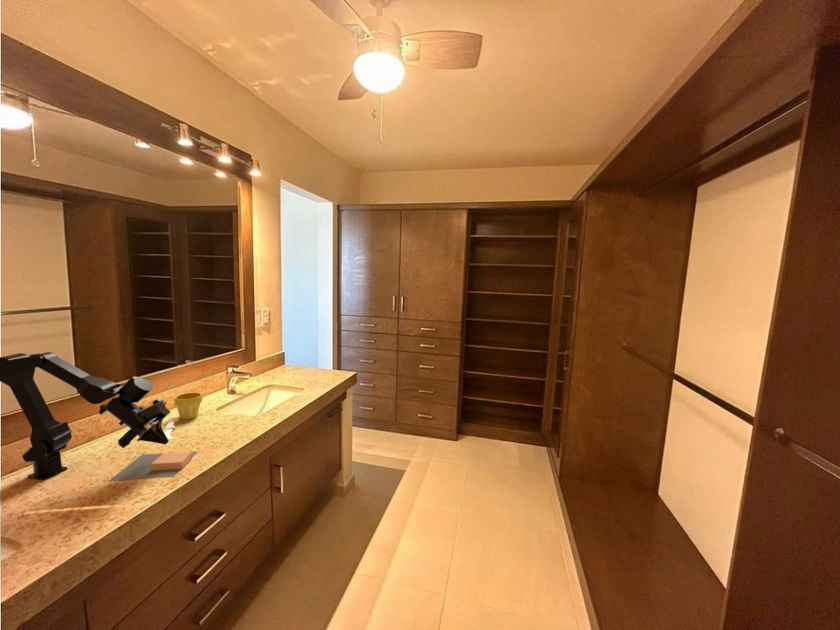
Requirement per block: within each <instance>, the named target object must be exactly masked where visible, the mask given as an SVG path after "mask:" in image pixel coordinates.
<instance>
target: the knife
mask: <svg viewBox="0 0 840 630" xmlns="http://www.w3.org/2000/svg"><path fill="white" fill-rule="evenodd" d="M179 420H180V418H179V417H172V418H171V419H170V420H169V421H168V423H167V424H166V426H165V427H164V429H163V432H164V433H165V435H166V437H167V439H168V440H169V439H173V437H172V436H171V433H172V432H174V430H176V429H177V427H176V426H175V423H177V422H179ZM173 429H174V430H173Z"/></svg>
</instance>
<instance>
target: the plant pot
mask: <svg viewBox="0 0 840 630" xmlns="http://www.w3.org/2000/svg"><path fill="white" fill-rule="evenodd" d="M202 401H203V394H202V393H201V392H197V391H196V392H194V391H193V392H191V391H190V392H183V393H180V394H178V395H176V396H174V405H175V406H176V409H177V412H178V416H179V419H181V420H191V419H194V418H196V417H198V415H199V410H200V405H201V403H202Z"/></svg>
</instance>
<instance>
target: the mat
mask: <svg viewBox="0 0 840 630" xmlns="http://www.w3.org/2000/svg"><path fill="white" fill-rule="evenodd" d="M192 452H193V457H195V456H196V454H197V453H198V452H199V451H198V450H197V451H192ZM163 453H164V452H161V453H148V454H147V453H146V454H141V455H139V456H138V457H137V458H136V459H134V460H133V461H132V462H131V463H129V464H128V465H127V466H125V467H124V468H123V469H121V471H119V472H118V473H117V474H115V476H113V477H112V478H110V479H109V480H108V481H109V482H115V481H129V480H132V481H133V480H145V479H146V480H147V479H159V478H162V479H164V478H174V477H175V476H176V475H177V474H179V472H180V471H181V470H182V469H166V470H151V464H152V463H153V462H154V461H155V460H156V459H157V458H159V457H160V456H161V455H162V454H163Z"/></svg>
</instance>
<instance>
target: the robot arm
mask: <svg viewBox="0 0 840 630" xmlns="http://www.w3.org/2000/svg"><path fill="white" fill-rule="evenodd" d="M36 368H39V369H40V370H42V371H44V372H46V373H48V374H49V375H51V376H53V377H55V378H57V379H59V380H60V381H62V382H64V383H66V384H67V385H69V386H71V387H72V388H74V389H76V391H77V392H78V395H79V396H80V397H81V398H82V399H84V400H85V401H86V402H87V403H89V404H92V405H97V404H98V405H99V404H100V405H99V413H98V414H99V415H103V414H105V413H107V412H109V413H110V414H111V415H112V416H113V417H115V418H116V419H118V420H119V423H118V425H120V426H123V425H125V426H127V427H128V428H129V430H127V431H126V433H124V434H123V435H122V436H121V437H120V438H119V439H118V440H117V444H118V446H119V447H121V448H123V449H124V448H126V447H127V446H129V445H130V444H131V442H132V441H133V440H134V439H135V438H136V437H139V438H137V439H136V442H139V441H142V442H150V443H156V444H161V445H167V444H168V443H169V442H170V441H169V439H167V437H166V435H165V433H164V432H163V431H164V429H163V428H162V422H163V420H164V419H165V418H166V417H167V416H168V415H169V414H171V411H170V410H169V409H168V408H167V407H166V404H167V401H165V400H164V399H162V398H161V397H158V398H156V399H155V400H153V401H152V404H151V405H149V406H147V407H146V406H145V405H140V406H138V405H137V404H136V403H139V402H140V401H142V400H143V399H144V398H145V397H146V396H147V395H148V394H149V393H150V392H151V391H152V390H153V388H154V386H153V384H152V382H151V381H150V380H148V379H145V378H142V377H138V376H136V375H134V376H132V377H130V378H129V379H128V380H127V382H126V383H124V384H122V383H120V384H119V383H116V382H114V381H112V380H110V379H106V378H103V377H98V376H93V375H92V374H89V373H87V372H86V371H83V370H82V369H80V368H78V367H77V366H75V365H73V364H71V363H69V362H68V361H66V360H64V359H62V358H60V357H59V356H57V354H56V353H55V352H51V351H47V352H46V351H45V352H42V353H32V354H27V353H23V352H22V353H21V352H19V353H13V354H8V355H4V356H1V357H0V382H1V383H2V384H4V385H6V386H8V387H9V388H10V391H11V392H12V394H13V396H14V397H15V399H16V401H17V403H18V405H19V406H20V408H21V410H22V411H23V412H22V413H23V414H24V416H25V418H26V420H27V421H28V423H29V426H31V433H30V437H29V441H30V444H31V447H30V448H29V449H28V450H27V451H26V452H25V453H24V454H22V457H21V458H22V459H23V461H24V462H25V463H32V469H33V473H30V474H28V475H27V476H26V477H27V478H29V479H35V480H36V479H37V480H46V479H48V478H52V477H54V476H55V475H58V474H60V473H61V472H64V471H66V470H68V468H69V467H67V466H62V457H61V451H62V450H64V449H66V448H67V445H68V443H69V442H70V441H71V439H72V438H73V436H72V433H73V432H74V431H73V430H72V429H71V428H70V426H69V423H68V422H67V421H64V422H60V421H58V420H56V419H55V418H54V416H53V413H52V412H51V410H50V408H49V407H48V405H47V403H46V401H45V399H44V397H43V395H42V393H41V391H40V389H39V387H38V386H37V384H36V382H35V379H34V375H35V372H36ZM118 395H119V396H118ZM116 396H117V397H116ZM108 400H109V401H108ZM105 401H108V402H107V403H104V402H105ZM101 403H103V404H101Z"/></svg>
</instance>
